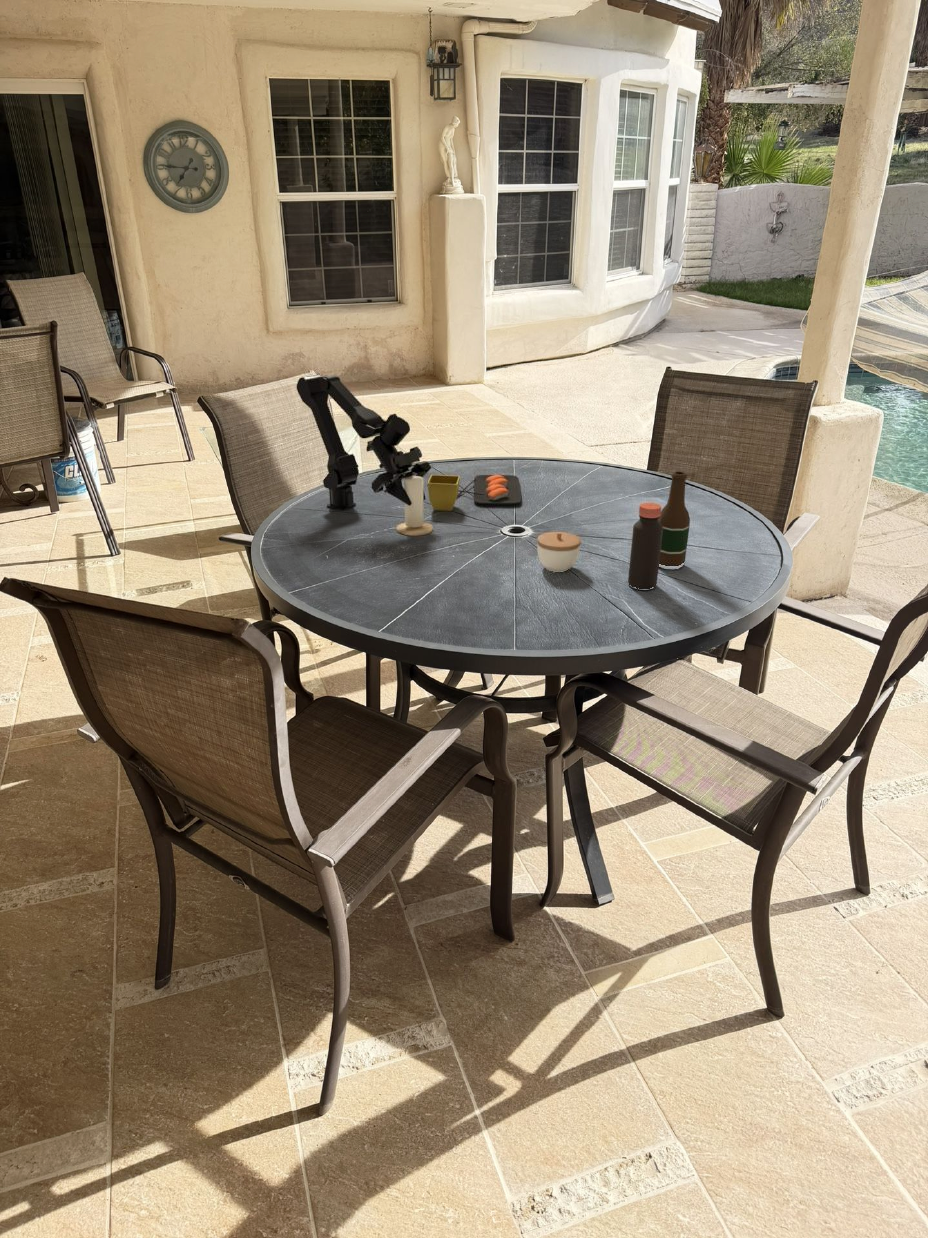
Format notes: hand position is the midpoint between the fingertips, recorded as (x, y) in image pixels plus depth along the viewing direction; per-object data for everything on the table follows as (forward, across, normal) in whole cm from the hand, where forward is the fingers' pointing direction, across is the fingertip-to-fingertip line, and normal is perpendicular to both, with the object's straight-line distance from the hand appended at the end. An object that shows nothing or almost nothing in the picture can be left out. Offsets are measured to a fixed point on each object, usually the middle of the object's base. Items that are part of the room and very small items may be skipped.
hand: (417, 502), depth 237 cm
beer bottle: (+51, +24, -40) cm, 70 cm away
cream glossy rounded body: (+4, 0, +6) cm, 7 cm away
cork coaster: (+5, 0, +7) cm, 8 cm away
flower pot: (+1, +19, +11) cm, 22 cm away
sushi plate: (-2, +37, +15) cm, 40 cm away
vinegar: (+52, +8, -41) cm, 67 cm away
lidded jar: (+37, +4, -26) cm, 46 cm away
